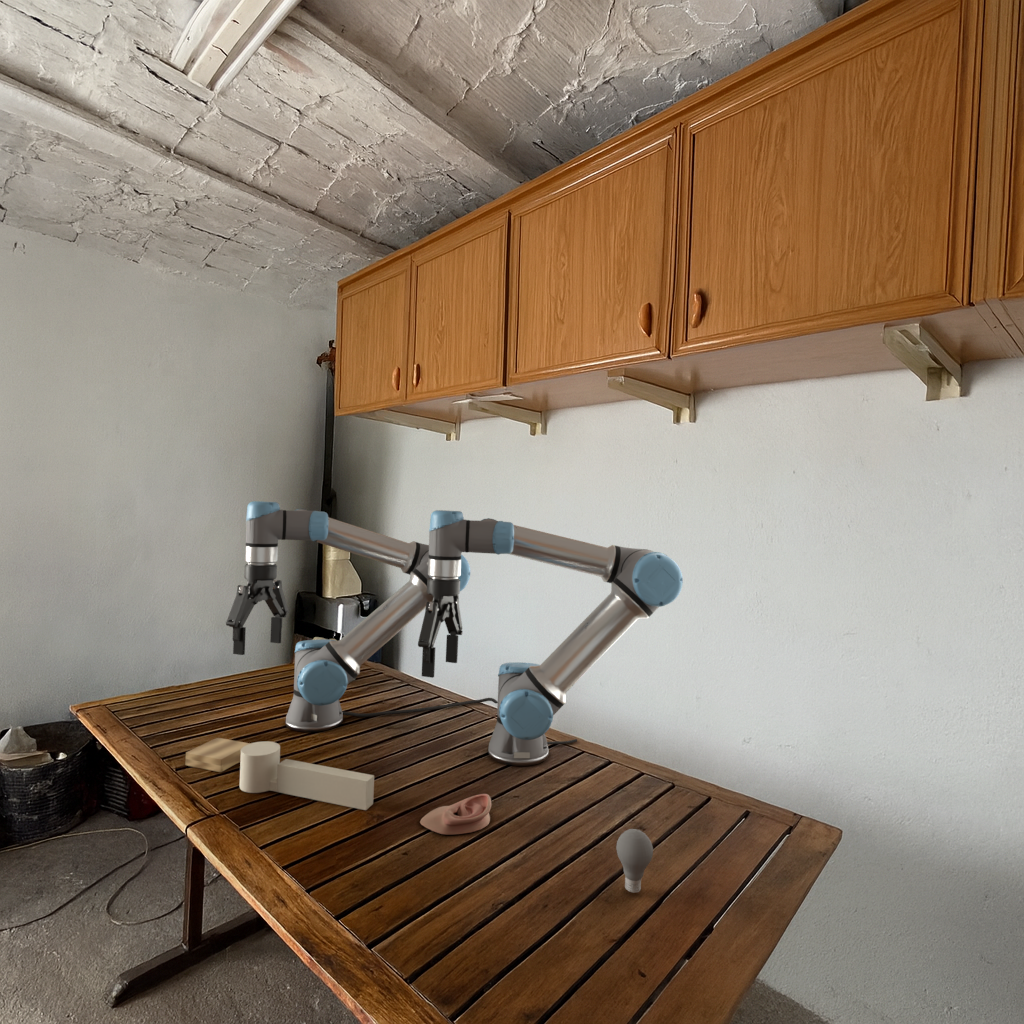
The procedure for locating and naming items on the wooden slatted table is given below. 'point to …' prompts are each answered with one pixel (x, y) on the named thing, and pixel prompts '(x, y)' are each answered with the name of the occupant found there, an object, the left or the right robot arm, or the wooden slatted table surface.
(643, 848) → the light bulb
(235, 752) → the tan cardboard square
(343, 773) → the toy wooden mallet
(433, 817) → the anatomical model
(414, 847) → the wooden slatted table surface
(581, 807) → the wooden slatted table surface
